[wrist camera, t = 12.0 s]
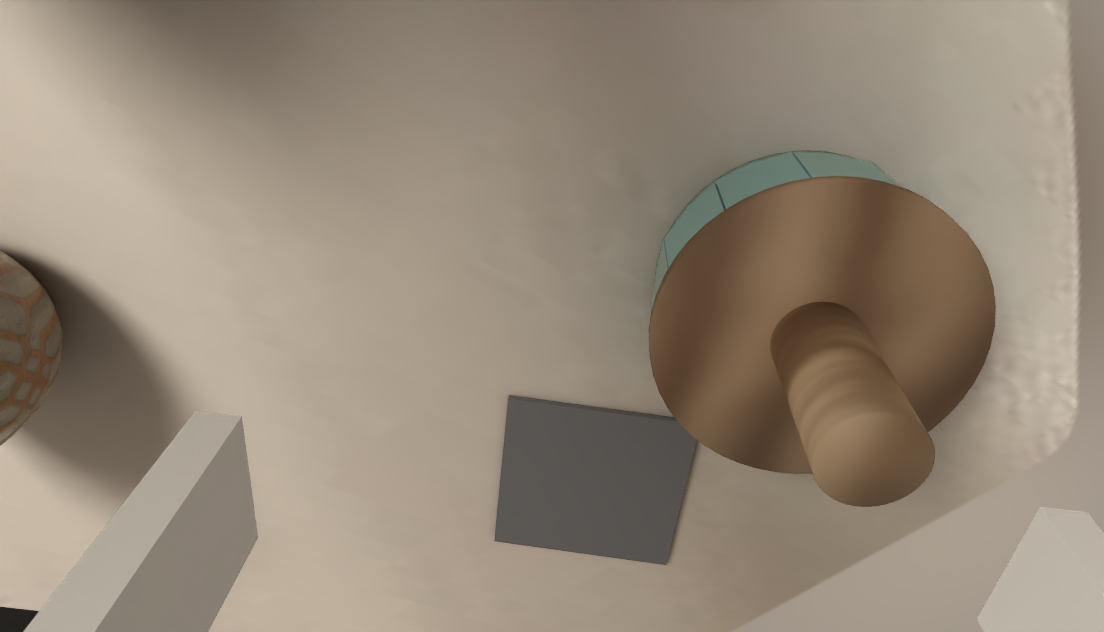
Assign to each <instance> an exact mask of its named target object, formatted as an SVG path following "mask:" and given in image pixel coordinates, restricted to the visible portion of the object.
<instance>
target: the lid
mask: <svg viewBox="0 0 1104 632" xmlns="http://www.w3.org/2000/svg"><path fill="white" fill-rule="evenodd" d="M995 308H996V306H995V297H994V289H993V284H992V281H991V277H990V274H989V270H988V267H987V265H986V263H985V261H984V259H983V257H982V255H981V253H980V251H979V249H978V248H977V247H976V245H975V244H974V242H973V241H972V240H971V238H970V237H969V235H968V234H967V233H966V232H965V231H964V230H963V229H962V228H961V227H960V226H959V225H958V224H957V223H956V222H955V221H954V220H953V219H952V218H951V217H950V216H949V215H948V214H947V213H945V212H944V211H943V210H941V209H940V208H939V207H937V206H936V205H934V204H933V203H932V202H930V201H929V200H927V199H925V198H923V197H922V196H920V195H918V194H916V193H914V192H912V191H910V190H908V189H905V188H902V187H899V186H896V185H893V184H890V183H887V182H883V181H878V180H873V179H868V178H863V177H848V176H828V177H813V178H808V179H802V180H797V181H791V182H787V183H784V184H781V185H777V186H774V187H771V188H768V189H765V190H763V191H760V192H758V193H756V194H754V195H751V196H749V197H747V198H744V199H743V200H741V201H739V202H738V203H736V204H734V205H732V206H731V207H729V208H727V209H726V210H724V211H722V212H721V213H720V214H718V215H717V216H716V217H715V218H713V219H712V220H711V221H709V222H708V223H707V224H705V225H704V226H703V227H702V228H701V229H700V230H699V231H698V232H697V233H696V234H695V235H694V236H693V237H692V238H691V239H690V240H689V241H688V242H687V243H686V244H685V246H684V247H683V248H682V250H681V251H680V252H679V253H678V255H677V256H676V257H675V258H674V260H673V262H672V263H671V265H670V267H669V268H668V270H667V272H666V273H665V275H664V277H663V279H662V282H661V284H660V286H659V289H658V291H657V293H656V297H655V300H654V304H653V308H652V311H651V318H650V326H649V350H650V360H651V366H652V371H653V376H654V379H655V382H656V384H657V387H658V390H659V393H660V394H661V396H662V398H663V400H664V402H665V404H666V406H667V408H668V409H669V410H670V412H671V413H672V414H673V416H674V417H675V418H676V420H677V421H678V422H679V423H680V424H681V425H682V426H683V427H684V428H685V429H686V430H687V432H688V433H689V434H690V435H692V436H693V437H694V438H696V439H697V440H698V441H699V442H701V443H702V444H703V445H705V446H706V447H708V448H710V449H711V450H713V451H715V452H716V453H718V454H720V455H722V456H724V457H726V458H729V459H731V460H733V461H736V462H738V463H741V464H744V465H748V466H751V467H754V468H758V469H763V470H768V471H774V472H783V473H795V474H798V473H813V475H814V478H815V480H816V482H817V484H818V485H819V487H820V488H821V489H822V490H823V492H824V493H826V494H827V495H828V496H830V497H831V498H833V499H835V500H837V501H839V502H841V503H844V504H848V505H853V506H861V507H871V506H879V505H884V504H888V503H891V502H894V501H897V500H899V499H901V498H903V497H905V496H907V495H909V494H910V493H912V492H913V491H914V490H916V489H917V488H918V487H919V486H920V485H921V484H922V483H923V482H924V481H925V479H926V478H927V477H928V475H929V473H930V471H931V470H932V467H933V464H934V459H935V449H934V444H933V442H932V439H931V437H930V436H929V434H928V431H930V430H931V429H933V428H934V427H935V426H936V425H937V424H938V423H939V422H941V421H942V420H943V419H944V418H945V417H946V416H947V415H948V414H949V413H950V412H951V411H952V410H953V409H954V408H955V407H956V406H957V405H958V403H959V402H960V401H961V400H962V399H963V398H964V396H965V395H966V393H967V392H968V390H969V389H970V388H971V386H972V385H973V383H974V382H975V380H976V378H977V376H978V374H979V372H980V371H981V369H982V367H983V365H984V362H985V359H986V357H987V354H988V351H989V349H990V346H991V341H992V336H993V332H994V327H995Z"/></svg>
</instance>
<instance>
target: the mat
mask: <svg viewBox="0 0 1104 632" xmlns="http://www.w3.org/2000/svg"><path fill="white" fill-rule="evenodd" d="M696 443H697V439H696V438H694V437H693V436H692V435H690V434H689V433H688V432H687V430H686V429H685V428H684V427H683V426H682V425H681V424H680V423H679V422H678V421H677V420H676V418H673V417H666V416H658V415H651V414H643V413H636V412H629V411H621V410H614V409H606V408H599V407H592V406H584V405H577V404H569V403H562V402H555V401H547V400H540V399H532V398H525V397H518V396H510V395H509V398H508V408H507V418H506V428H505V438H504V448H503V458H502V469H501V479H500V489H499V499H498V509H497V520H496V530H495V540H494V541H497V542H504V543H511V544H519V545H526V546H533V547H540V548H548V549H555V550H562V551H569V552H576V553H584V554H591V555H598V556H605V557H613V558H620V559H627V560H634V561H641V562H649V563H656V564H663V565H666V563H667V559H668V555H669V551H670V547H671V543H672V539H673V535H674V531H675V527H676V523H677V519H678V515H679V511H680V507H681V503H682V499H683V495H684V491H685V487H686V483H687V479H688V475H689V471H690V467H691V463H692V459H693V455H694V451H695V447H696Z"/></svg>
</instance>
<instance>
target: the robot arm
mask: <svg viewBox="0 0 1104 632" xmlns="http://www.w3.org/2000/svg"><path fill="white" fill-rule="evenodd" d="M257 538H258V534H257V526H256V519H255V511H254V504H253V497H252V489H251V482H250V474H249V467H248V460H247V452H246V445H245V437H244V430H243V422H242V416H234V415H225V414H216V413H207V412H198V411H195V412H194V413H193V415H192V416H191V417H190V418H189V420H188V421H187V422H186V424H185V425H184V426H183V427H182V429H181V430H180V431H179V433H178V434H177V435H176V436H175V438H174V439H173V440H172V442H171V443H170V444H169V445H168V447H167V448H166V449H165V450H164V452H163V453H162V454H161V456H160V457H159V458H158V459H157V461H156V462H155V463H154V465H153V466H152V467H151V468H150V470H149V471H148V472H147V474H146V475H145V476H144V477H143V479H142V480H141V481H140V483H139V484H138V485H137V486H136V488H135V489H134V490H133V492H132V493H131V494H130V495H129V497H128V498H127V499H126V501H125V502H124V503H123V504H122V506H121V507H120V508H119V509H118V511H117V512H116V513H115V515H114V516H113V517H112V518H111V520H110V521H109V522H108V524H107V525H106V526H105V527H104V529H103V530H102V531H101V533H100V534H99V535H98V536H97V538H96V539H95V540H94V542H93V543H92V544H91V545H90V547H89V548H88V549H87V551H86V552H85V553H84V554H83V556H82V557H81V558H80V560H79V561H78V562H77V563H76V565H75V566H74V567H73V568H72V570H71V571H70V572H69V574H68V575H67V576H66V577H65V579H64V580H63V581H62V583H61V584H60V585H59V586H58V588H57V589H56V590H55V592H54V593H53V594H52V595H51V597H50V598H49V599H48V601H47V602H46V603H45V604H44V606H43V607H42V608H41V610H40V611H33V610H24V609H15V608H6V607H0V632H208V631H209V629H210V627H211V625H212V623H213V621H214V620H215V618H216V616H217V614H218V612H219V610H220V608H221V606H222V604H223V603H224V601H225V599H226V597H227V595H228V593H229V591H230V589H231V587H232V586H233V584H234V582H235V580H236V578H237V576H238V574H239V572H240V570H241V569H242V567H243V565H244V563H245V561H246V559H247V557H248V555H249V554H250V552H251V550H252V548H253V546H254V544H255V542H256V540H257ZM977 620H978V622H979V624H980V626H981V628H982V630H983V632H1104V533H1103V532H1102V531H1101V530H1100V528H1099V527H1098V526H1097V524H1096V523H1095V522H1094V520H1093V519H1092V518H1091V517H1090V515H1089V514H1088V513H1087V512H1083V511H1074V510H1065V509H1056V508H1048V507H1040V508H1039V510H1038V512H1037V513H1036V515H1035V517H1034V519H1033V520H1032V522H1031V524H1030V526H1029V528H1028V529H1027V531H1026V533H1025V534H1024V536H1023V538H1022V540H1021V542H1020V543H1019V545H1018V547H1017V549H1016V550H1015V552H1014V554H1013V556H1012V558H1011V559H1010V561H1009V563H1008V565H1007V566H1006V568H1005V570H1004V572H1003V573H1002V575H1001V577H1000V579H999V580H998V582H997V584H996V586H995V588H994V589H993V591H992V593H991V595H990V596H989V598H988V600H987V602H986V603H985V605H984V607H983V609H982V610H981V612H980V614H979V616H978V618H977Z"/></svg>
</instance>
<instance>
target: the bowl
mask: <svg viewBox="0 0 1104 632" xmlns="http://www.w3.org/2000/svg"><path fill="white" fill-rule="evenodd" d="M828 176H848V177H863V178H868V179H873V180H878V181H883V182H887V183H890V184H893V185H896V186H899V187H901V186H900V185H899V184H898V183H897V182H896V181H895V180H894V179H892V178H891V177H890V176H888V175H887V174H886V173H885V172H884V171H882V170H881V169H880V168H879V167H878V166H876V165H875V164H874V163H873V162H871V161H864V160H858V159H855V158H852V157H849V156H846V155H841V154H836V153H831V152H821V151H796V152H794V151H793V152H786V153H780V154H775V155H770V156H766V157H763V158H760V159H757V160H754V161H750V162H748V163H746V164H744V165H742V166H739V167H737V168H735V169H733V170H731V171H729V172H728V173H726V174H724V175H723V176H721V177H719V178H718V179H716V180H715V181H713V182H712V183H711V184H709V185H708V186H707V187H706V188H704V189H703V190H702V191H701V192H699V193H698V194H697V195H696V196H695V197H694V198H693V199H692V200H691V201H690V202H689V203H688V204H687V206H686V207H685V208H684V210H683V211H682V212H681V213H680V215H679V216H678V217H677V219H676V220H675V222H674V224H673V225H672V227H671V229H670V230H669V232H668V234H667V235H666V236H665V237H664V239H663V243H662V248H661V250H660V254H659V258H658V262H657V265H656V273H655V285H654V290H653V295H652V300H651V309H652V308H653V304H654V300H655V297H656V293H657V291H658V289H659V286H660V284H661V282H662V279H663V277H664V275H665V273H666V272H667V270H668V268H669V267H670V265H671V263H672V262H673V260H674V258H675V257H676V256H677V255H678V253H679V252H680V251H681V250H682V248H683V247H684V246H685V244H686V243H687V242H688V241H689V240H690V239H691V238H692V237H693V236H694V235H695V234H696V233H697V232H698V231H699V230H700V229H701V228H702V227H703V226H704V225H705V224H707V223H708V222H709V221H711V220H712V219H713V218H715V217H716V216H717V215H718V214H720V213H721V212H722V211H724V210H726V209H727V208H729V207H731V206H732V205H734V204H736V203H738V202H739V201H741V200H743V199H744V198H747V197H749V196H751V195H754V194H756V193H758V192H760V191H763V190H765V189H768V188H771V187H774V186H777V185H781V184H784V183H787V182H791V181H797V180H802V179H808V178H813V177H828ZM902 188H903V187H902Z"/></svg>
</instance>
